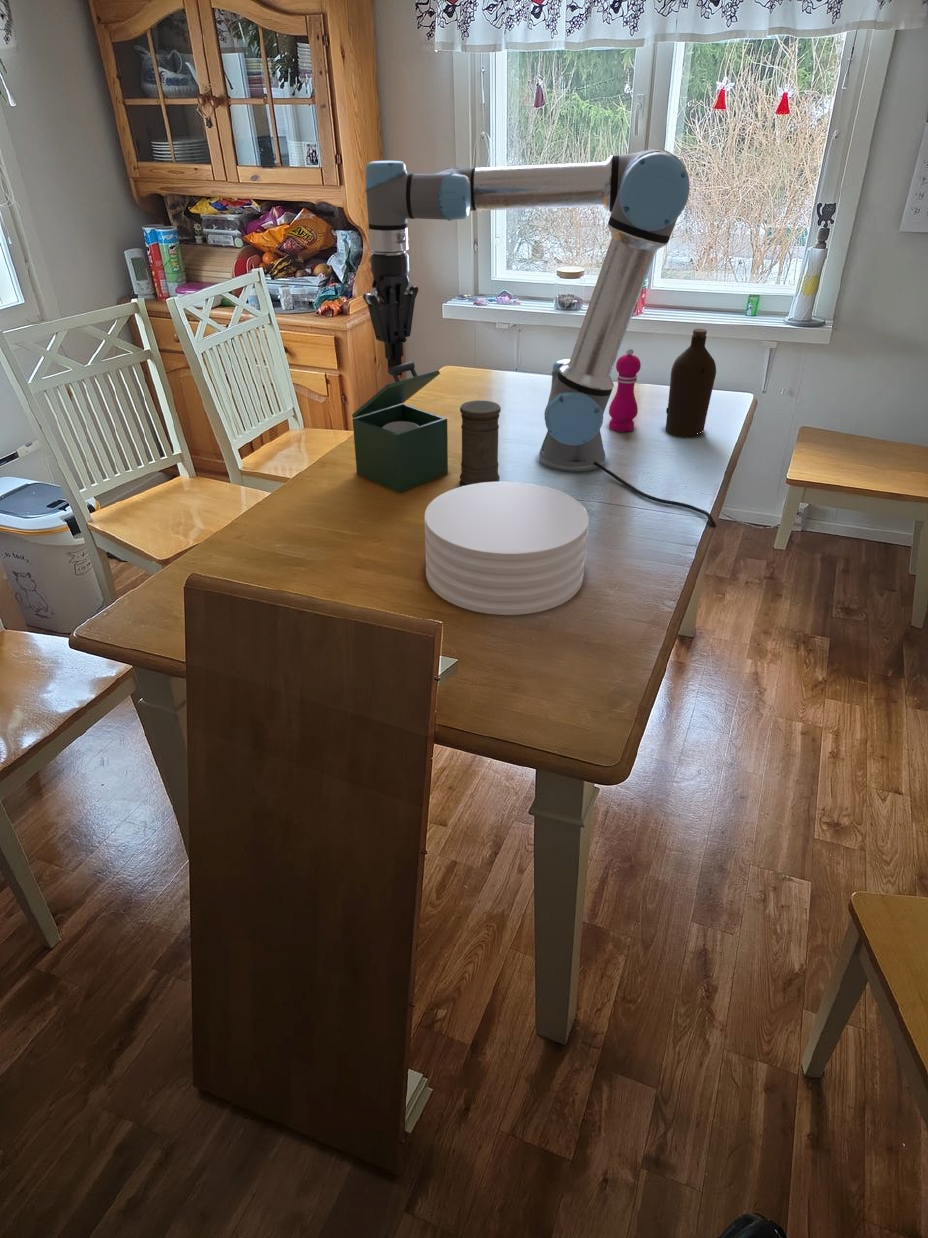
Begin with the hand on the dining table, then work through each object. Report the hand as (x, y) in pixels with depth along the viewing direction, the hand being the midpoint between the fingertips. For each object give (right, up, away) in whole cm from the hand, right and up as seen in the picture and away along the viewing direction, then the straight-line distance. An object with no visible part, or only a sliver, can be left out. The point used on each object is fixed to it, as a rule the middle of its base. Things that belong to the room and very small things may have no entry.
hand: (395, 373), depth 167 cm
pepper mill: (+55, -3, +37) cm, 67 cm away
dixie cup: (+1, -19, +11) cm, 22 cm away
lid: (0, -4, +2) cm, 5 cm away
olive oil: (+71, -4, +35) cm, 79 cm away
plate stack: (+22, -44, -26) cm, 55 cm away
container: (+18, -23, +6) cm, 30 cm away
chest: (+1, -19, +12) cm, 22 cm away
